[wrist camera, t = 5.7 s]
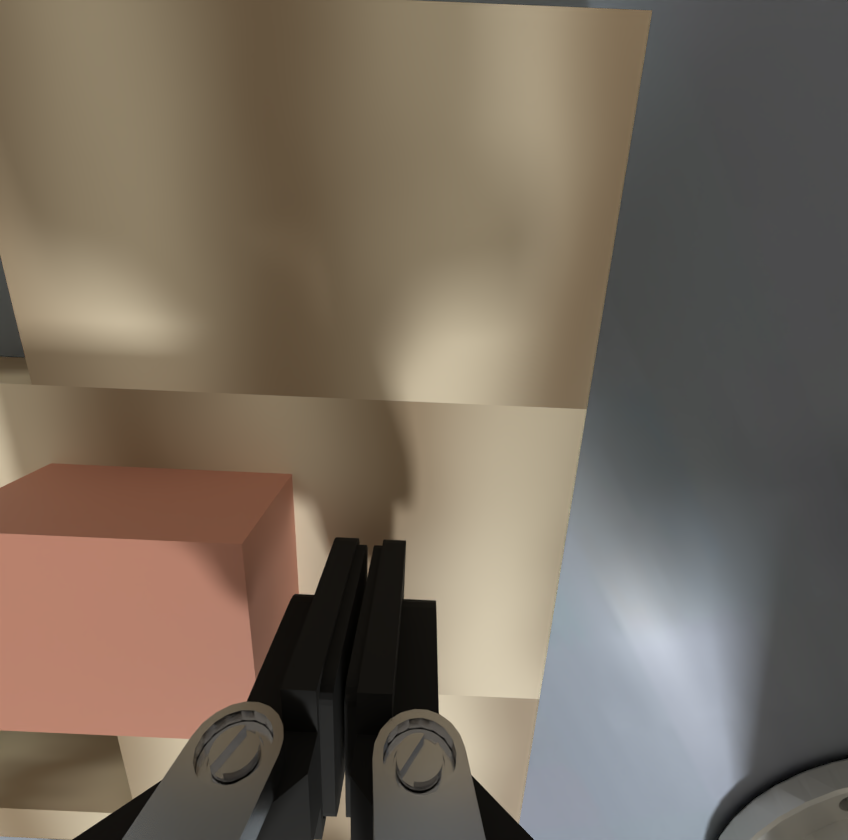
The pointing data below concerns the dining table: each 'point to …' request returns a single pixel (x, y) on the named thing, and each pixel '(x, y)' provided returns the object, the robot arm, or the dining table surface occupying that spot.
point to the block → (139, 595)
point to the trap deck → (319, 304)
